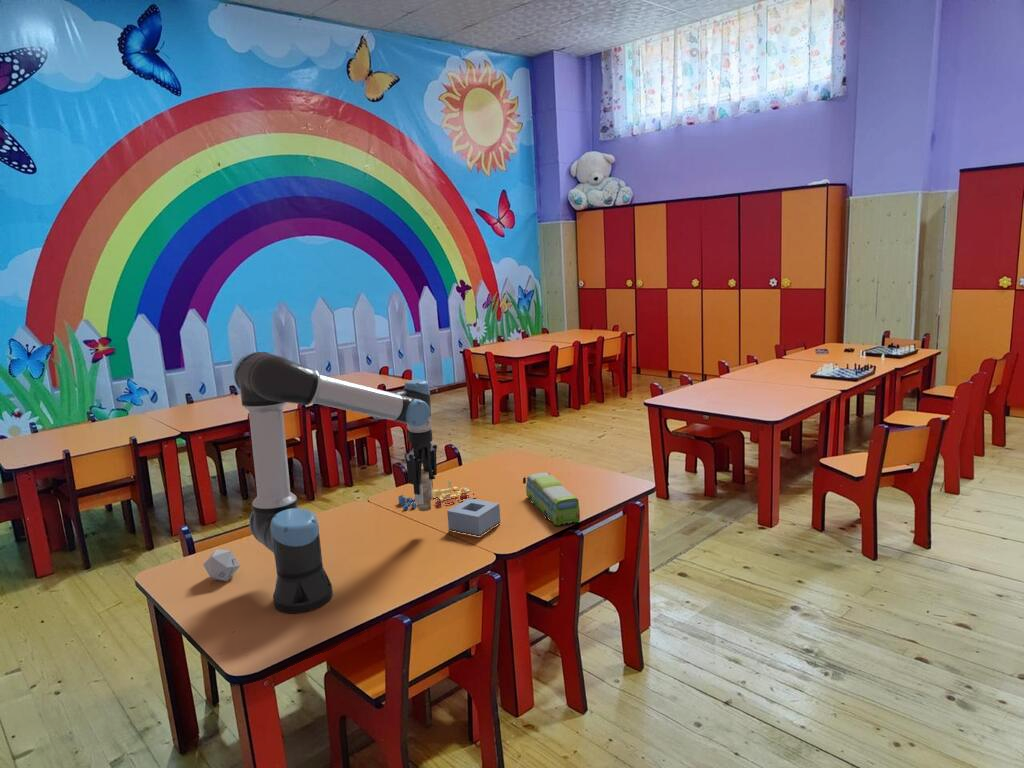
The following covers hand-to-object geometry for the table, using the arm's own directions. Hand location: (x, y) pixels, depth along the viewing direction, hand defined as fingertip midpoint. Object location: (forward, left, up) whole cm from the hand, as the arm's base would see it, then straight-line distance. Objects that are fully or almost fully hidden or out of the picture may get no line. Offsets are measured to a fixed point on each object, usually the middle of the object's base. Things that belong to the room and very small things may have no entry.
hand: (424, 500), depth 221 cm
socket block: (+10, -12, -11) cm, 19 cm away
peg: (0, 0, -3) cm, 3 cm away
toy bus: (+33, -28, -11) cm, 45 cm away
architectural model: (+31, +10, -11) cm, 35 cm away
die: (-50, +34, -11) cm, 62 cm away
